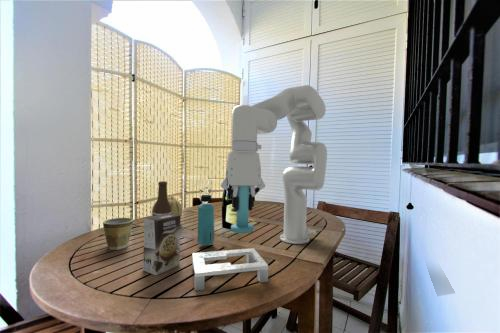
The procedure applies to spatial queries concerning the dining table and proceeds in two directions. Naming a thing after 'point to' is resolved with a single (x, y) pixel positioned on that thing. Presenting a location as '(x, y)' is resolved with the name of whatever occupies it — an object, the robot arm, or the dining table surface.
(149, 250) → the food box
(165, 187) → the beer bottle
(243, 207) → the flanged peg
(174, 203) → the cantaloupe
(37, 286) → the dining table surface
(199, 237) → the beverage bottle
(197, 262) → the keyhole plate
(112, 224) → the ceramic cup
